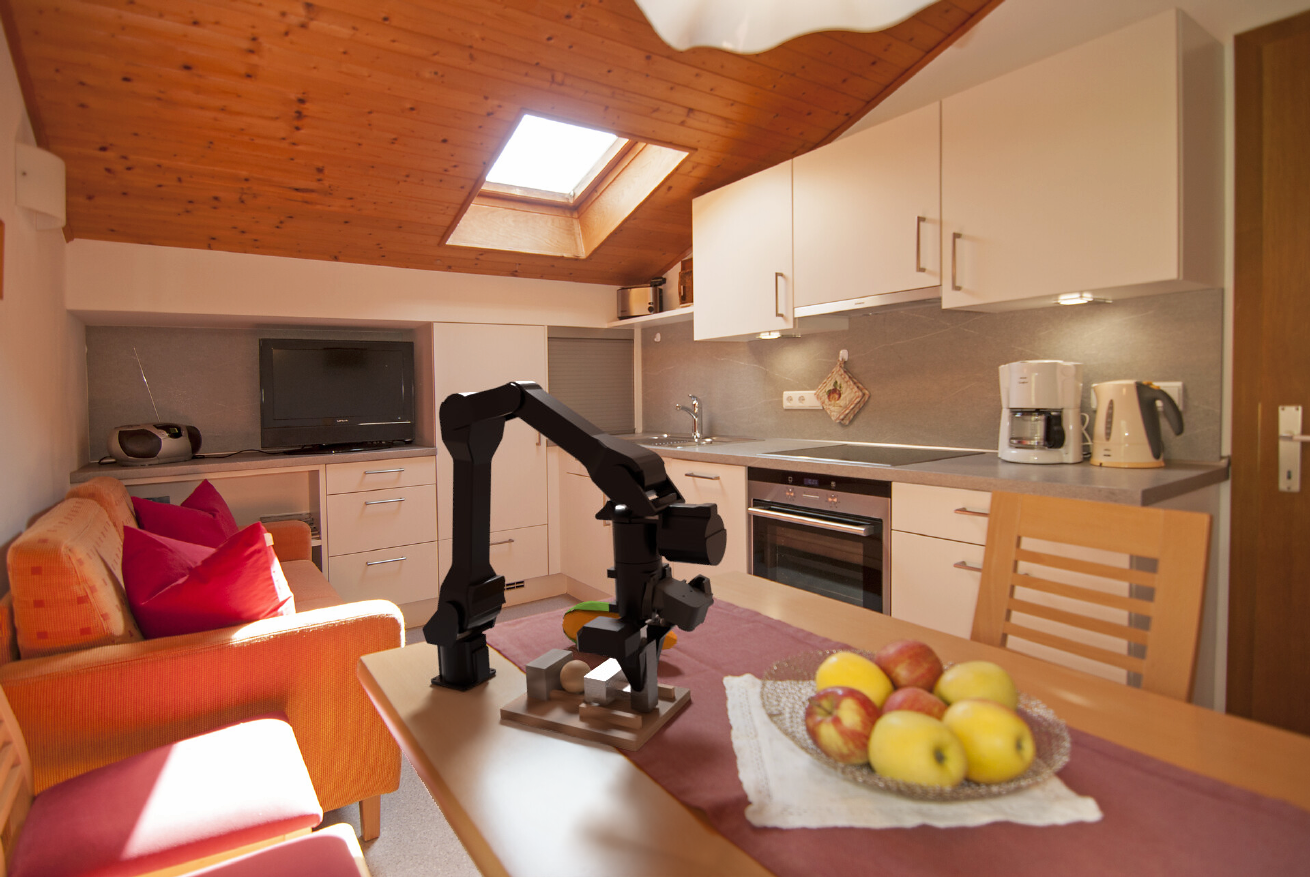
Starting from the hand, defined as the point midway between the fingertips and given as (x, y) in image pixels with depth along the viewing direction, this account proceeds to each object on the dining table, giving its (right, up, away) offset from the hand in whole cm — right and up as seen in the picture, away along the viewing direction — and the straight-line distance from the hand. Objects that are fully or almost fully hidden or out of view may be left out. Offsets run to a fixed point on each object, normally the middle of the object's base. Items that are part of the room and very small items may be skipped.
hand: (643, 686), depth 84 cm
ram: (-2, -2, +1) cm, 4 cm away
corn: (-4, -3, +22) cm, 22 cm away
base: (-6, -4, +4) cm, 8 cm away
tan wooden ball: (-9, 0, +5) cm, 10 cm away
